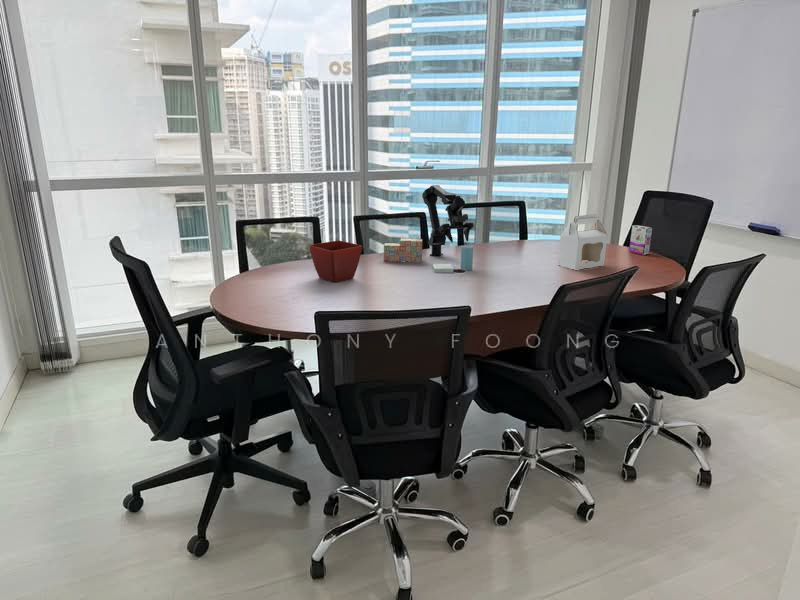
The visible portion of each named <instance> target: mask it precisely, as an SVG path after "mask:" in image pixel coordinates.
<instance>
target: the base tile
mask: <svg viewBox="0 0 800 600" xmlns="http://www.w3.org/2000/svg"><path fill="white" fill-rule="evenodd" d="M432 270H433V272H434V273H454V267H453V264H452V263H432Z"/></svg>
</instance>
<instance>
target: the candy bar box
mask: <svg viewBox="0 0 800 600" xmlns="http://www.w3.org/2000/svg"><path fill="white" fill-rule="evenodd" d="M652 233H653V227H650V226H644V225H638V224H637V225H636V224H635V225H632V226H631V234H630V241H629V248H628V252H629V251H630V252H629V253H631V252H633V253H632V254H635V253H638V254H637V255H640V254H642V255H641V256H647V255H646V254H650V247H651V240H652V235H653V234H652Z"/></svg>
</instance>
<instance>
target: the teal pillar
mask: <svg viewBox="0 0 800 600" xmlns="http://www.w3.org/2000/svg"><path fill="white" fill-rule="evenodd" d="M473 257H474V247H473V246H471V245H465V246H461V249H460V269H461V270H463V271H471V269H472V270H473Z"/></svg>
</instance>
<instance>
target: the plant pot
mask: <svg viewBox="0 0 800 600" xmlns="http://www.w3.org/2000/svg"><path fill="white" fill-rule="evenodd" d="M362 248H363V246H362V245H361V244H357V243H353V242H348V241H344V240H343V241H342V240H333V241H332V240H331V241H325V242H320V243H313V244H309V250H310V251H309V253H310V257H311V260H312V262H313V265H314V268H315V271H316V274H317V275H318V278H319V279H322V280H325V281H329V282H331V283H338V282H343V281H347V280H352V279H354V278H355V275H356V272H357V269H358V266H359V263H360V259H361V255H362Z"/></svg>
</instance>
